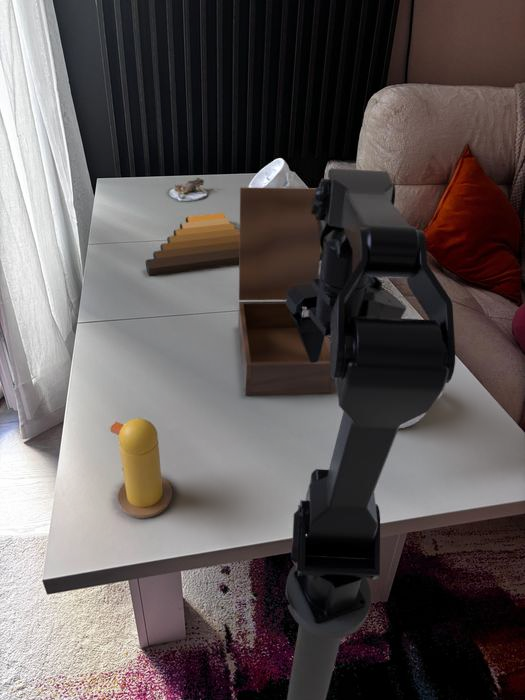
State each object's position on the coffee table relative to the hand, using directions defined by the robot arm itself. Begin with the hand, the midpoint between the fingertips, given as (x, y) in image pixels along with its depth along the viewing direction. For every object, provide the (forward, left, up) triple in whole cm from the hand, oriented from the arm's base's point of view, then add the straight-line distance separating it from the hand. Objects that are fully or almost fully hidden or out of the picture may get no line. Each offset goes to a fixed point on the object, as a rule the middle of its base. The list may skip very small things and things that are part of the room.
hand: (328, 381), depth 74 cm
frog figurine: (+108, -8, -13) cm, 109 cm away
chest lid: (+33, -6, +4) cm, 34 cm away
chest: (+22, -3, -13) cm, 26 cm away
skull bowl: (+99, -32, -13) cm, 105 cm away
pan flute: (+72, +1, -13) cm, 73 cm away
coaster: (-1, +26, -13) cm, 29 cm away
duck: (-1, +26, -12) cm, 28 cm away
